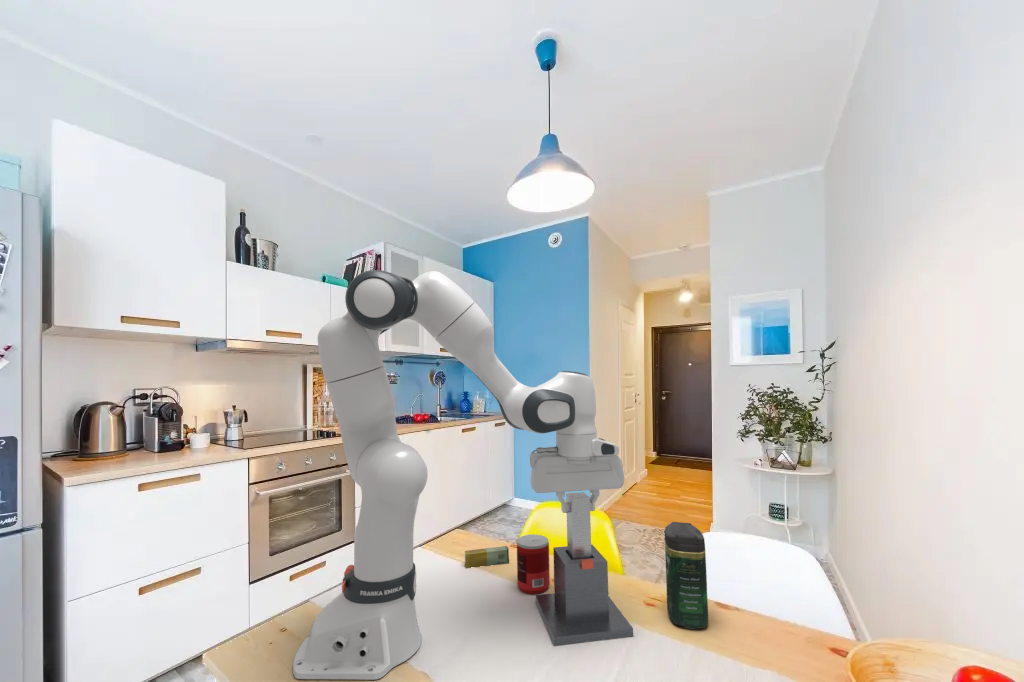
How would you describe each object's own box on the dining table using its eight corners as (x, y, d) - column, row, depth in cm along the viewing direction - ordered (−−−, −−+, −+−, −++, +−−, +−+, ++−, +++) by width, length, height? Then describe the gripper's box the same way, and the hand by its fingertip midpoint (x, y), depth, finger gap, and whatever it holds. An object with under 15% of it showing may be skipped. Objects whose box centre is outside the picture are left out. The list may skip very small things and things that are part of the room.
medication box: (507, 560, 119) (507, 545, 120) (509, 564, 117) (509, 548, 117) (464, 565, 117) (464, 550, 117) (465, 569, 114) (465, 553, 114)
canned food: (555, 583, 105) (554, 537, 106) (539, 598, 98) (538, 548, 99) (528, 576, 109) (527, 532, 110) (511, 589, 102) (510, 542, 103)
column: (573, 608, 88) (571, 498, 90) (567, 597, 92) (565, 493, 94) (593, 606, 89) (590, 497, 90) (586, 595, 93) (584, 492, 95)
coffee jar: (713, 633, 84) (708, 536, 86) (670, 628, 86) (666, 533, 87) (703, 607, 93) (699, 520, 95) (665, 603, 95) (661, 517, 97)
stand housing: (553, 645, 81) (552, 570, 82) (535, 602, 97) (534, 539, 98) (633, 636, 83) (630, 563, 85) (603, 595, 99) (601, 533, 100)
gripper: (532, 450, 88) (533, 519, 87) (626, 446, 91) (628, 512, 90) (526, 445, 94) (527, 509, 93) (614, 442, 98) (616, 504, 96)
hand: (578, 511), depth 92 cm, fingers open, 4 cm apart
